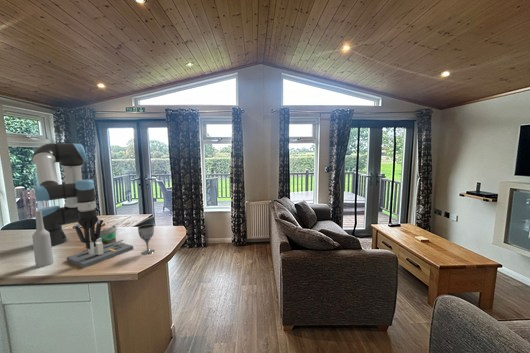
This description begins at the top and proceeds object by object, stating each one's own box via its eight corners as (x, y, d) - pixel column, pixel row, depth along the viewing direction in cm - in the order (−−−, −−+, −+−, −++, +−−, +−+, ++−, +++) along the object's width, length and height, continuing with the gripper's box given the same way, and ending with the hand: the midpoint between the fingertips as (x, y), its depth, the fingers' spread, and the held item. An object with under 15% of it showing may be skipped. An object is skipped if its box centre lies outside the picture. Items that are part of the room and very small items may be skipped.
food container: (106, 248, 139) (104, 231, 138) (97, 247, 140) (96, 231, 139) (122, 240, 151) (121, 225, 150) (114, 240, 152) (113, 225, 151)
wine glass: (143, 249, 135) (141, 224, 133) (157, 248, 135) (156, 223, 134) (137, 255, 127) (135, 229, 125) (152, 254, 127) (150, 228, 126)
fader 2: (95, 253, 124) (94, 243, 124) (100, 252, 126) (99, 241, 126) (98, 255, 123) (97, 244, 122) (103, 253, 125) (102, 242, 124)
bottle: (43, 267, 116) (36, 212, 113) (32, 267, 117) (25, 212, 114) (56, 261, 122) (50, 209, 119) (46, 261, 123) (40, 209, 120)
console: (66, 260, 123) (65, 253, 122) (115, 244, 144) (115, 237, 144) (84, 268, 114) (83, 259, 114) (133, 249, 136) (132, 242, 135)
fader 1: (94, 249, 131) (93, 238, 131) (99, 247, 133) (98, 237, 133) (97, 250, 129) (96, 239, 129) (102, 248, 132) (101, 238, 131)
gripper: (75, 213, 112) (80, 260, 114) (104, 207, 123) (108, 250, 125) (68, 211, 115) (73, 257, 117) (97, 206, 127) (101, 248, 129)
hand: (91, 253), depth 121 cm, fingers closed
